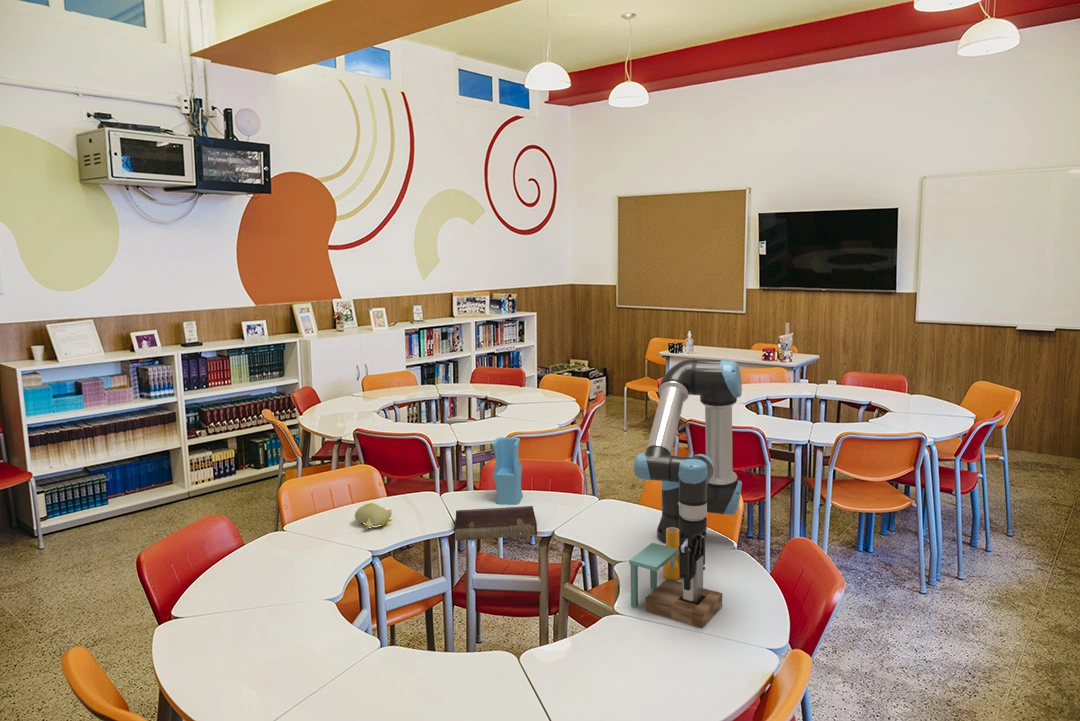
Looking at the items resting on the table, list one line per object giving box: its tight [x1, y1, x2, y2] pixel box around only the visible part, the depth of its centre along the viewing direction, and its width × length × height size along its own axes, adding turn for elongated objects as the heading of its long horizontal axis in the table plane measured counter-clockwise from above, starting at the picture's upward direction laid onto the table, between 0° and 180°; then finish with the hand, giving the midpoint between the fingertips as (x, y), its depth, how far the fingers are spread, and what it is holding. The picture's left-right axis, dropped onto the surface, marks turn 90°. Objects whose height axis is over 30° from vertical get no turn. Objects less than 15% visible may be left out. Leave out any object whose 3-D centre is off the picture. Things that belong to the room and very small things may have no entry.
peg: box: [680, 554, 704, 605], centre depth 201 cm, size 4×4×14 cm
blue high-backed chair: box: [491, 436, 524, 506], centre depth 292 cm, size 10×10×25 cm
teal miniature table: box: [628, 542, 678, 608], centre depth 208 cm, size 14×8×14 cm, turn 144°
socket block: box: [644, 578, 723, 629], centre depth 204 cm, size 14×17×4 cm
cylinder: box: [662, 527, 681, 581], centre depth 223 cm, size 12×10×15 cm
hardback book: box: [454, 505, 538, 542], centre depth 266 cm, size 29×19×5 cm, turn 95°
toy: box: [354, 502, 393, 529], centre depth 272 cm, size 15×9×15 cm
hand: (692, 595), depth 202 cm, fingers closed on peg, 4 cm apart
